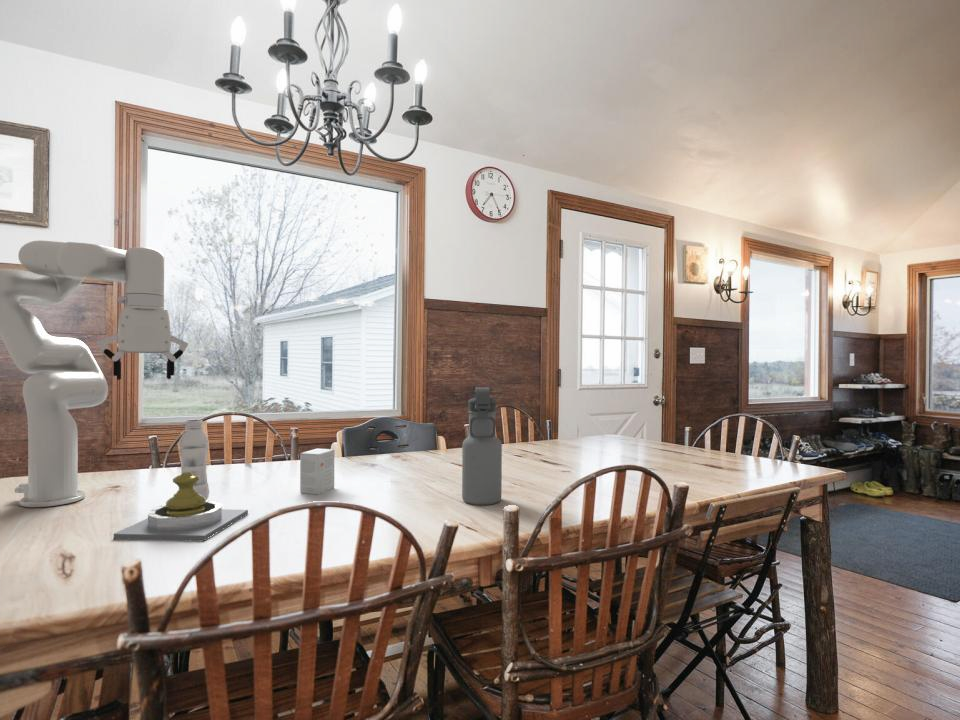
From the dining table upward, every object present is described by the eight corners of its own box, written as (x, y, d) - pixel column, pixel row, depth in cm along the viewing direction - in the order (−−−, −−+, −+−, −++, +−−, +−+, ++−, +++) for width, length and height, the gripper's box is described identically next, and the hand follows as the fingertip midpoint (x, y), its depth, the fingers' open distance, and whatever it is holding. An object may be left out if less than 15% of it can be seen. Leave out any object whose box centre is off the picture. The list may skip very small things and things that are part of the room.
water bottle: (502, 506, 132) (503, 389, 132) (461, 506, 132) (462, 389, 132) (500, 495, 142) (500, 386, 142) (462, 495, 142) (462, 386, 142)
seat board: (113, 539, 107) (113, 533, 107) (169, 512, 125) (169, 508, 125) (204, 540, 106) (204, 535, 106) (247, 514, 124) (247, 509, 124)
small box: (316, 486, 151) (317, 448, 151) (334, 487, 150) (335, 449, 150) (299, 493, 144) (299, 452, 144) (318, 494, 142) (318, 453, 142)
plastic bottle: (196, 508, 129) (197, 422, 129) (171, 506, 130) (171, 421, 130) (215, 501, 135) (215, 419, 135) (191, 499, 137) (191, 418, 137)
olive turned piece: (207, 514, 120) (207, 468, 120) (203, 523, 113) (204, 475, 113) (168, 517, 118) (169, 470, 118) (162, 527, 111) (163, 477, 111)
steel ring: (133, 530, 109) (133, 517, 109) (173, 511, 122) (173, 500, 122) (199, 531, 108) (199, 518, 108) (232, 512, 122) (232, 501, 122)
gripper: (97, 299, 117) (97, 380, 117) (189, 304, 126) (189, 379, 126) (99, 302, 123) (98, 379, 123) (186, 306, 133) (186, 378, 133)
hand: (144, 379), depth 125 cm, fingers open, 9 cm apart
